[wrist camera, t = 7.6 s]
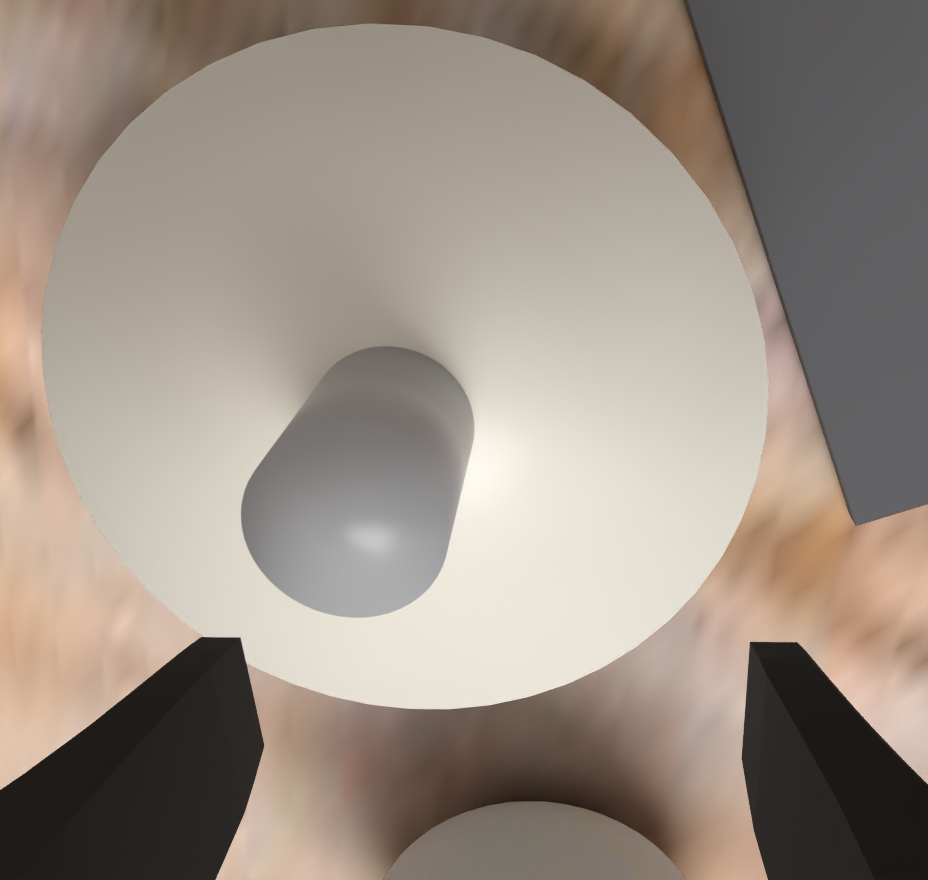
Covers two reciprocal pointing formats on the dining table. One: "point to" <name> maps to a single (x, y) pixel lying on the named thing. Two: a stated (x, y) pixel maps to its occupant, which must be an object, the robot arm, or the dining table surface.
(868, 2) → the mat
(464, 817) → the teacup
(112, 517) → the lid
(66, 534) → the dining table surface
